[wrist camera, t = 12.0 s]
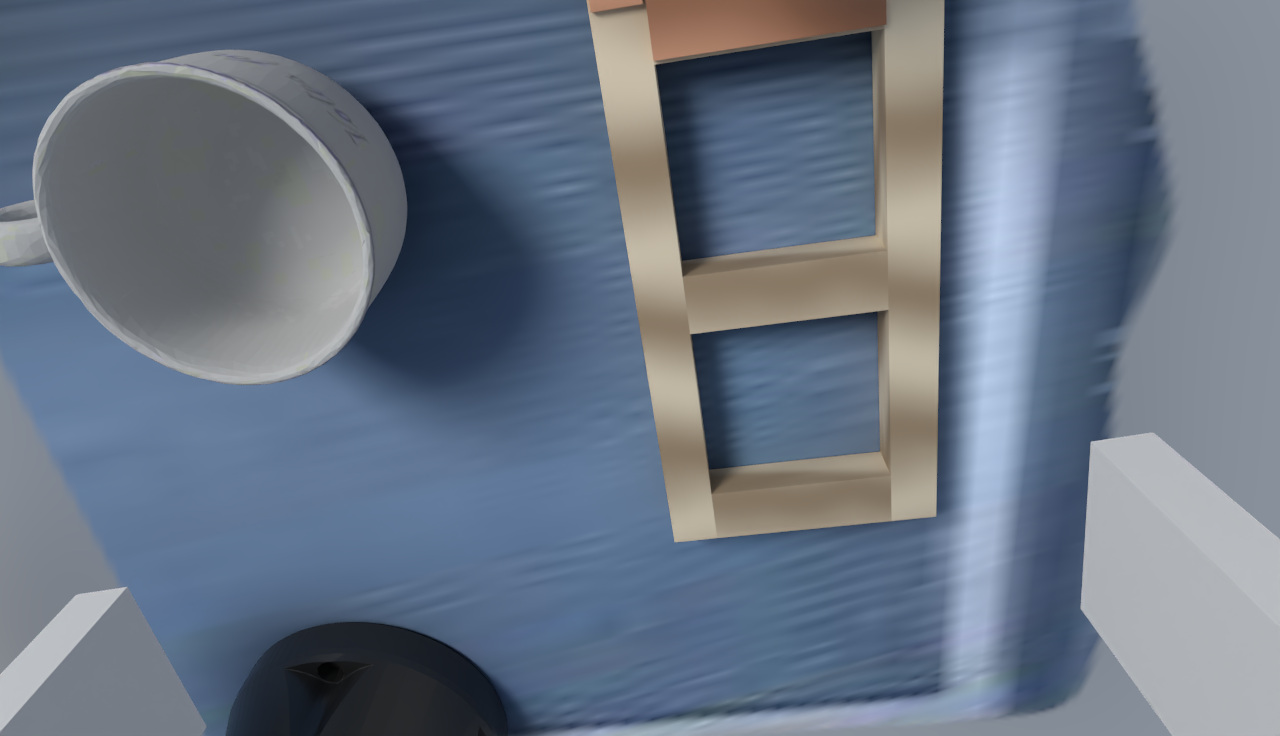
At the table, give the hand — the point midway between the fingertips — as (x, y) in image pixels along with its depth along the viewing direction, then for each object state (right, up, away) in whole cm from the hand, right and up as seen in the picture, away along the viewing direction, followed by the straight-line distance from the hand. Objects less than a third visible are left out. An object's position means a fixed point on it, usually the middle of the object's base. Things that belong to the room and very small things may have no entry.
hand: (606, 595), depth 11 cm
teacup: (-15, +11, +22) cm, 29 cm away
